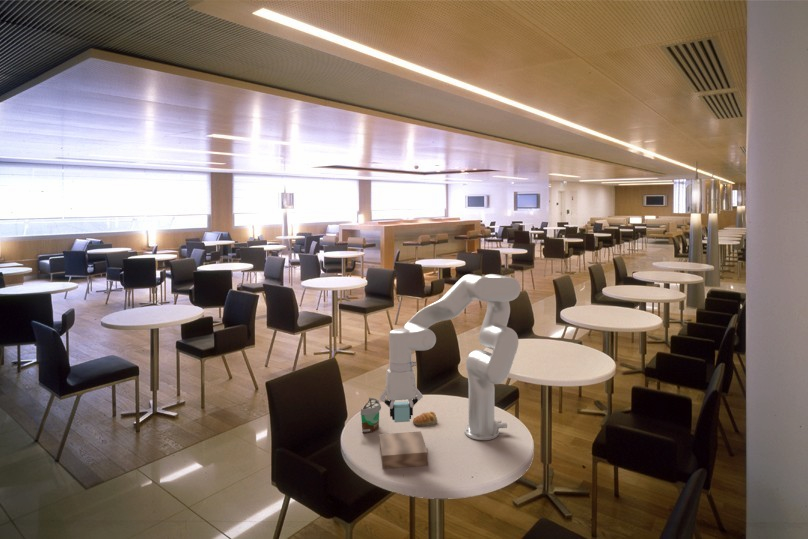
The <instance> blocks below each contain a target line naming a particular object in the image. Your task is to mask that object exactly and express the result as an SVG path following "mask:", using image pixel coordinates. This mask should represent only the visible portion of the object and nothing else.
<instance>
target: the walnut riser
mask: <svg viewBox="0 0 808 539" xmlns="http://www.w3.org/2000/svg"><path fill="white" fill-rule="evenodd" d="M378 440H379V452H380V460H381V466H382V467H381V469H382V470H385V469H394V468H407V467H408V468H409V467H422V466H423V467H424V466H429V458H428V457H429V454H428V448H427V447H426V446H427V445H426V442H425V439H424V436H423V433H422V431H421V430H420V431H419V430H418V431H410V432H409V431H407V432H396V433H395V432H394V433H393V432H392V433H382V434H381V433H380V434H379V439H378Z"/></svg>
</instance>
